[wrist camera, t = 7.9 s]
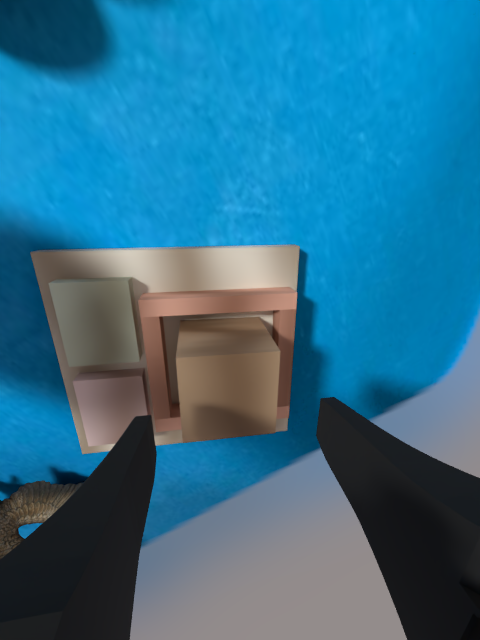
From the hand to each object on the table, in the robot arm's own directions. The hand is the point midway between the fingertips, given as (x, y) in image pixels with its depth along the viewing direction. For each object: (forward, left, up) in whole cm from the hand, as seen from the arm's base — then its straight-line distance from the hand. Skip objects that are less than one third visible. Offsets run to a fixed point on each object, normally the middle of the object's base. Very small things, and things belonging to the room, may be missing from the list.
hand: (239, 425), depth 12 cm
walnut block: (0, 0, -7) cm, 7 cm away
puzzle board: (-3, -1, -8) cm, 9 cm away
